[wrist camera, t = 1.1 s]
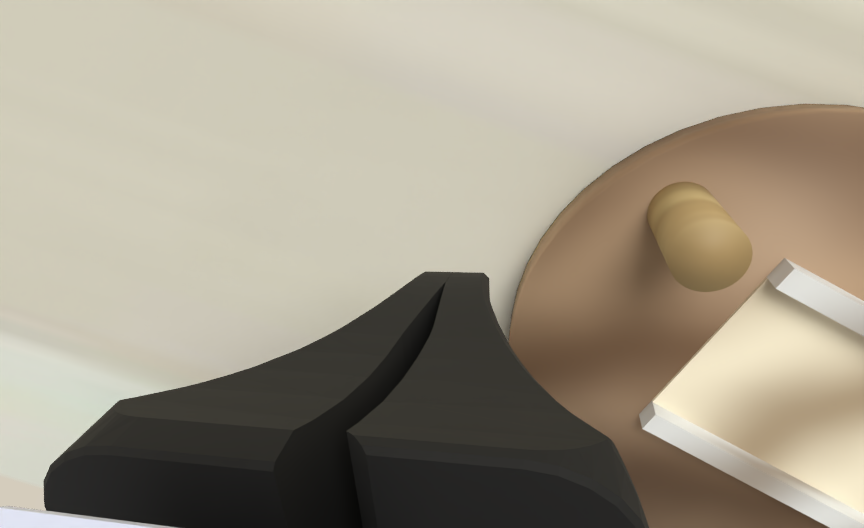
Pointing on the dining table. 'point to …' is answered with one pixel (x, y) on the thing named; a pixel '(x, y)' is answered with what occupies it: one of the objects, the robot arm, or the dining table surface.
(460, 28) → the dining table surface
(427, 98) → the dining table surface
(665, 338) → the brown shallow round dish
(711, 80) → the dining table surface
